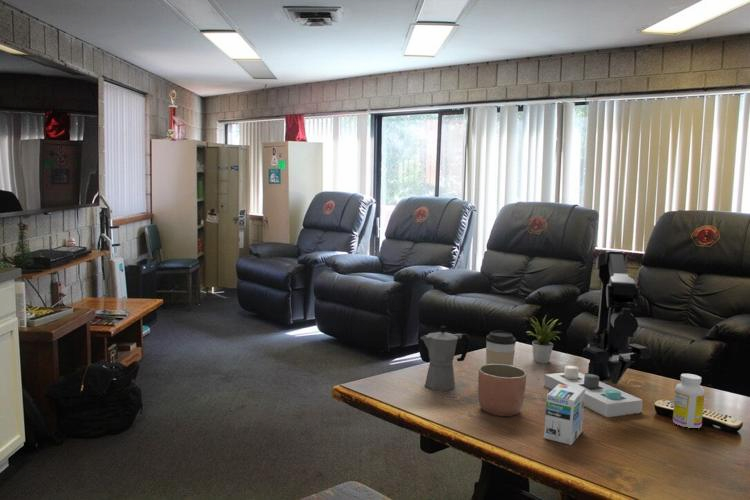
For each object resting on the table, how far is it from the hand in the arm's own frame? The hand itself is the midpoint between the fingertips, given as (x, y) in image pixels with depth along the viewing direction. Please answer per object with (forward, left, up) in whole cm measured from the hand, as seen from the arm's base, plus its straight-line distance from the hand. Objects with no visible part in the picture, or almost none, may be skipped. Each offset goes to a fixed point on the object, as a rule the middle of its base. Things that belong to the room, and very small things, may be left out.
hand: (614, 383), depth 164 cm
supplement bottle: (-11, +14, -7) cm, 20 cm away
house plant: (-9, -45, -7) cm, 46 cm away
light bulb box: (+25, +10, -7) cm, 28 cm away
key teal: (0, 0, -6) cm, 6 cm away
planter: (+31, -8, -7) cm, 33 cm away
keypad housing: (0, -9, -7) cm, 11 cm away
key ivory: (0, -17, -5) cm, 18 cm away
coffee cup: (+17, -30, -7) cm, 35 cm away
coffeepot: (+36, -30, -7) cm, 47 cm away
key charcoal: (0, -9, -5) cm, 10 cm away
